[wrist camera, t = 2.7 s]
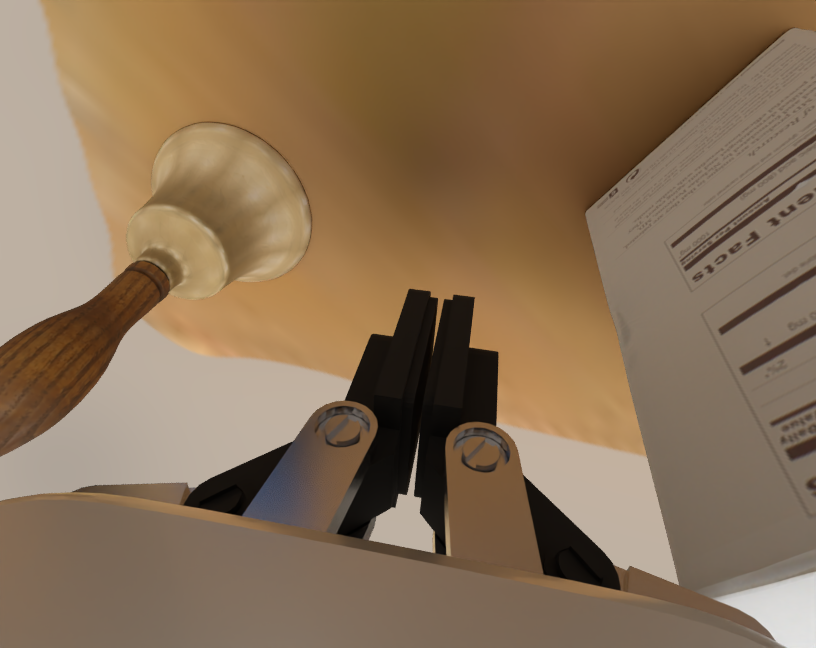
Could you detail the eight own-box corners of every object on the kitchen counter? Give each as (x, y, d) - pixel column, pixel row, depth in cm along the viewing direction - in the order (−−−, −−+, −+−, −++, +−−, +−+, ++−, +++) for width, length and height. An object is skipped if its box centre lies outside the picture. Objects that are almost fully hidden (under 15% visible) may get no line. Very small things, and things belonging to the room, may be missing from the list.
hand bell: (296, 121, 21) (-30, 343, 9) (323, 283, 26) (138, 577, 13) (130, 120, 23) (-362, 309, 10) (184, 274, 28) (-101, 533, 15)
